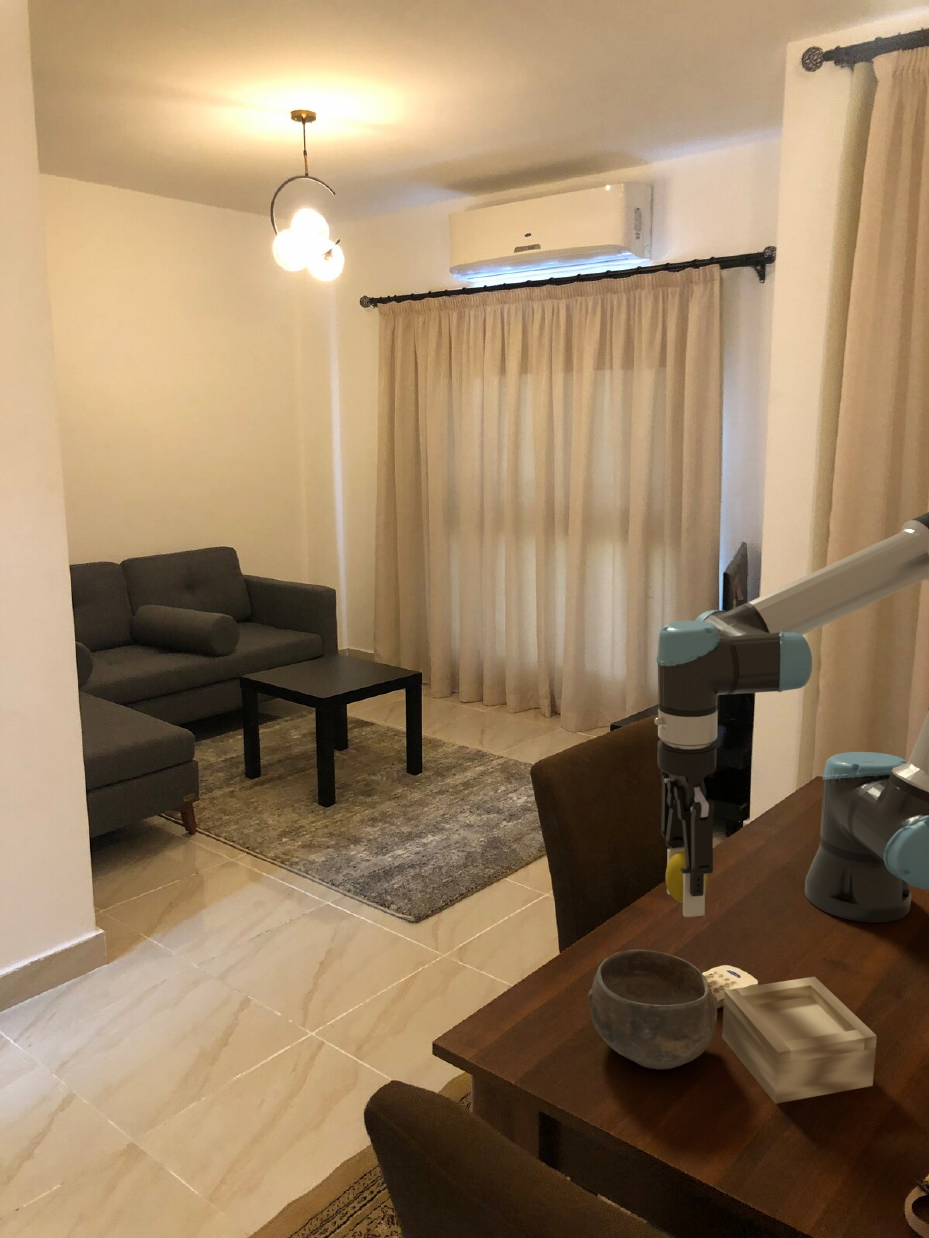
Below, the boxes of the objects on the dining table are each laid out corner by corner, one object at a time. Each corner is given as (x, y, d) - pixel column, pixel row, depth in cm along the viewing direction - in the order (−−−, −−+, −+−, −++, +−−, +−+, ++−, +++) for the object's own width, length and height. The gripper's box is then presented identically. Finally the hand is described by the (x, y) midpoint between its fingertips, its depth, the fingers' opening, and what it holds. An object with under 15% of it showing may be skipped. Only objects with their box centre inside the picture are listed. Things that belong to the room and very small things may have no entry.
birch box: (811, 1024, 120) (814, 976, 119) (872, 1087, 109) (876, 1035, 107) (722, 1038, 117) (724, 990, 116) (775, 1105, 106) (778, 1052, 105)
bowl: (695, 1108, 105) (699, 1025, 103) (564, 1065, 113) (564, 986, 111) (728, 1037, 117) (732, 962, 115) (607, 1002, 125) (609, 930, 122)
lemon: (708, 916, 129) (708, 860, 127) (665, 914, 130) (665, 858, 128) (706, 896, 134) (707, 842, 132) (665, 894, 135) (665, 840, 134)
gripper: (637, 720, 136) (637, 875, 140) (684, 766, 118) (682, 941, 122) (689, 716, 137) (687, 870, 141) (743, 761, 119) (739, 935, 123)
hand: (685, 903), depth 132 cm, fingers closed on lemon, 5 cm apart
